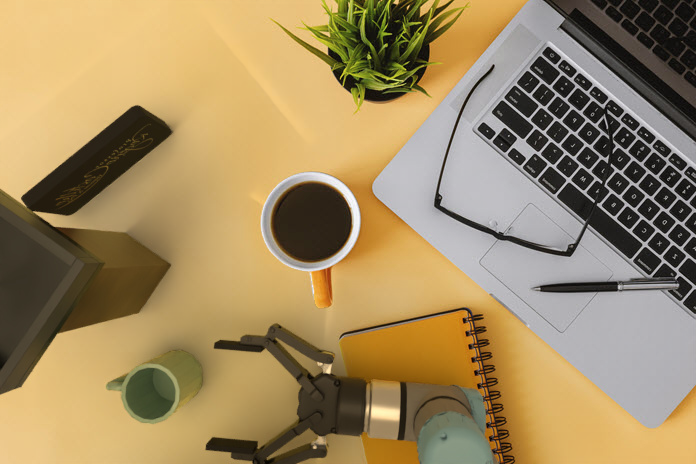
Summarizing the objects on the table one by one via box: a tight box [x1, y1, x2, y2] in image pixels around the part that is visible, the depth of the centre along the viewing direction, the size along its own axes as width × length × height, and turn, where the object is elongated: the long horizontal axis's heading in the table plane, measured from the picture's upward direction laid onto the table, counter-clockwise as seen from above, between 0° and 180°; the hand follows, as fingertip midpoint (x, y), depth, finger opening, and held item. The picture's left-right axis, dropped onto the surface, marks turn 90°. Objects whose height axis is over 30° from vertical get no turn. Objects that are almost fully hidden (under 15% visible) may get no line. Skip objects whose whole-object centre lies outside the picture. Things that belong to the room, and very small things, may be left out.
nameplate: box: [20, 104, 173, 217], centre depth 71 cm, size 21×2×10 cm, turn 129°
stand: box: [54, 226, 172, 335], centre depth 62 cm, size 9×9×26 cm
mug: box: [105, 349, 204, 425], centre depth 69 cm, size 11×8×9 cm
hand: (212, 393), depth 67 cm, fingers open, 13 cm apart
